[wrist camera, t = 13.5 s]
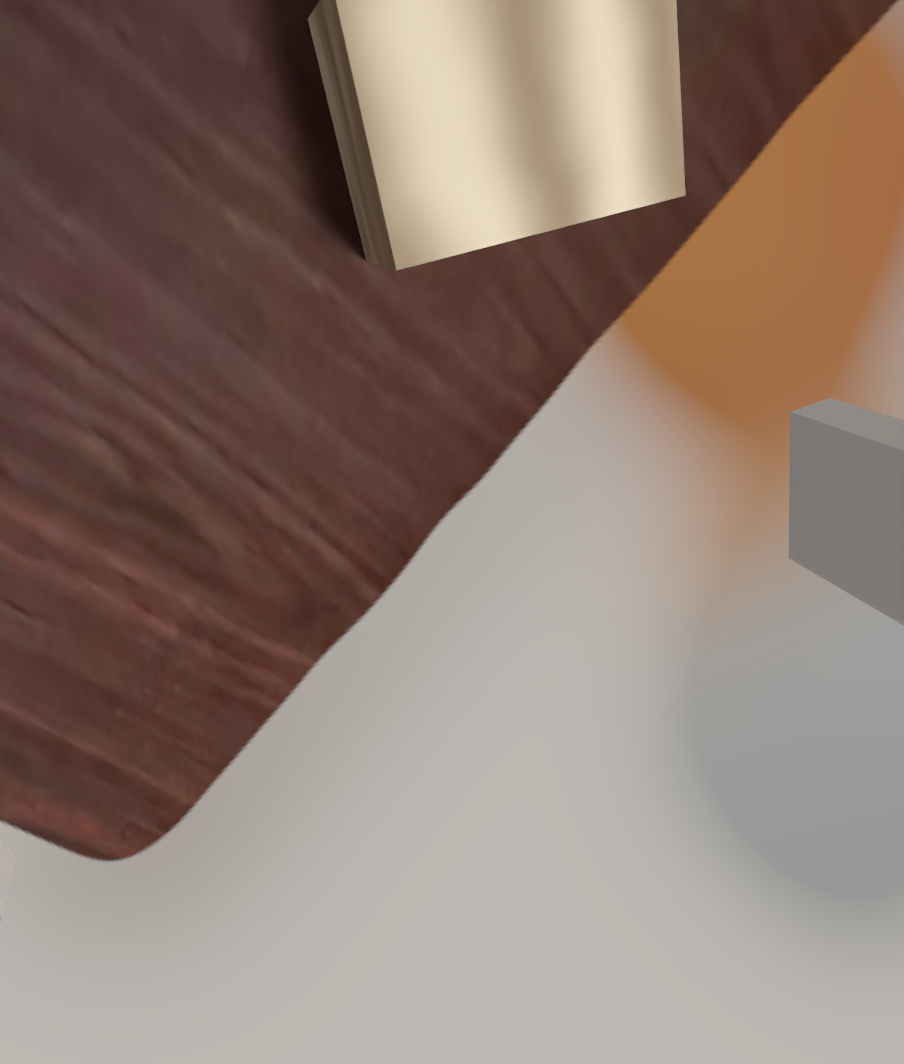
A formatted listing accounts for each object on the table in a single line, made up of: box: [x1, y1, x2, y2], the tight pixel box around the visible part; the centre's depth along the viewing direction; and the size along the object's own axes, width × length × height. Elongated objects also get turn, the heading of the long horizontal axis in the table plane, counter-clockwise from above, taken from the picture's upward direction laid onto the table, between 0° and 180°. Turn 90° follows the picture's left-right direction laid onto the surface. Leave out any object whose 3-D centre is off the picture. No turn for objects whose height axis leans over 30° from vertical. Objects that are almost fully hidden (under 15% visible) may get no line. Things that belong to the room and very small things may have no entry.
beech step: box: [308, 0, 685, 270], centre depth 33 cm, size 14×10×6 cm
